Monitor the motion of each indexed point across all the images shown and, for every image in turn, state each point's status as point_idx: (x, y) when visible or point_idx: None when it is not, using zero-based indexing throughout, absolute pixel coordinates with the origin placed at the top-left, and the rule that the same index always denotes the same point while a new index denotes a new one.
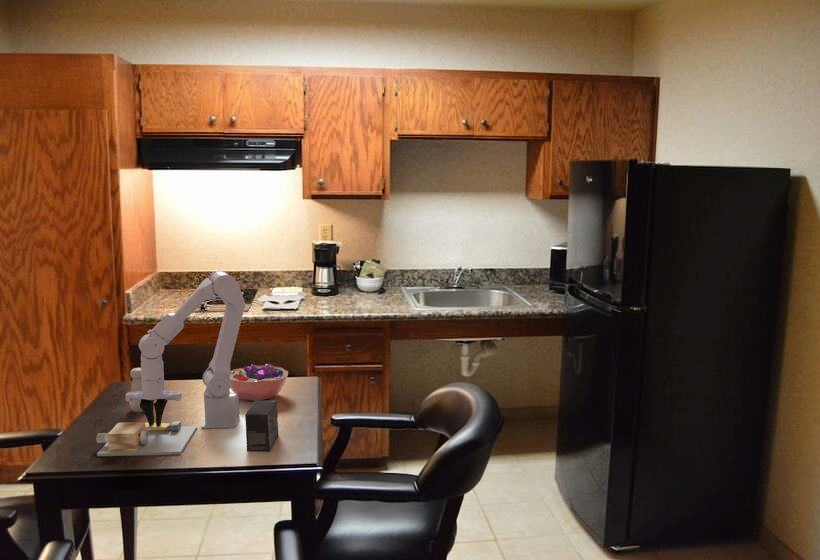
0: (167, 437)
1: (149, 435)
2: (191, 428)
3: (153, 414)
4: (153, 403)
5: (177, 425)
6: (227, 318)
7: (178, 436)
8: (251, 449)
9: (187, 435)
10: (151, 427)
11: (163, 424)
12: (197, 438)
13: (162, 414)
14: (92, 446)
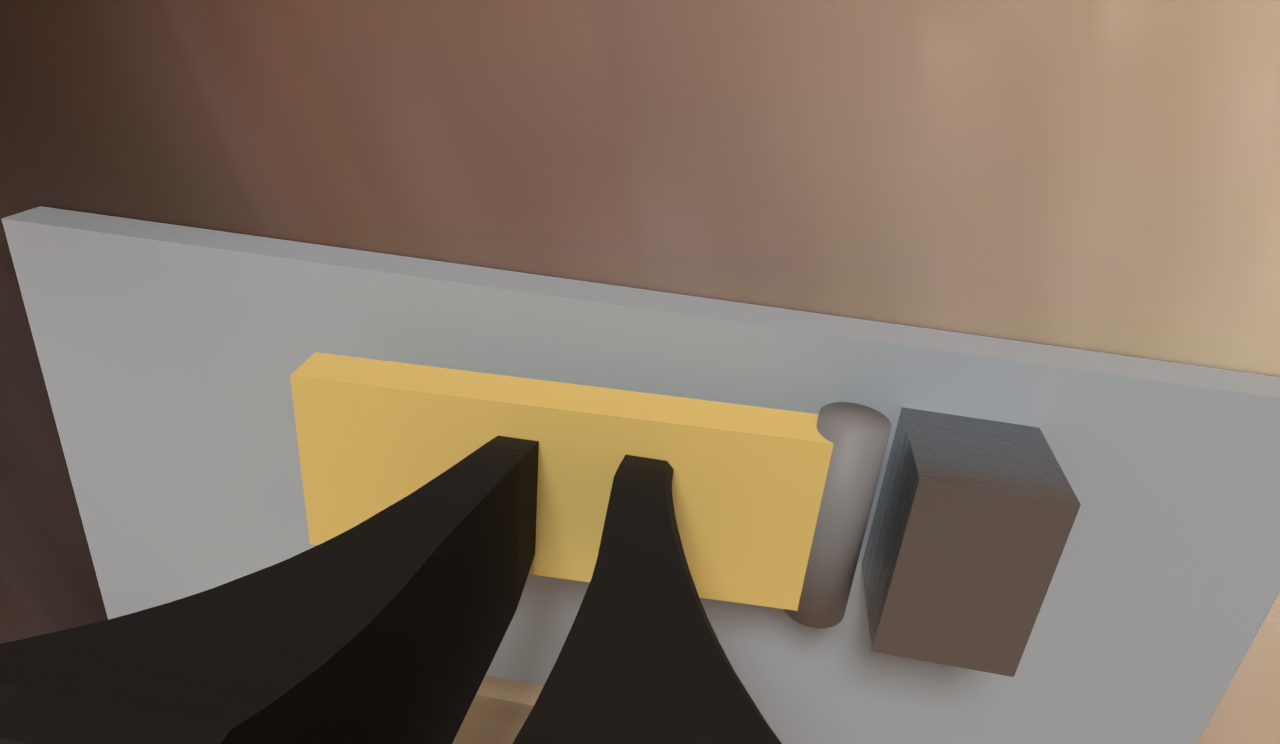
0: (832, 721)
1: (558, 601)
2: (1241, 491)
3: (469, 523)
4: (332, 670)
5: (1008, 671)
6: None
7: (994, 730)
8: None
9: (1137, 732)
10: (540, 568)
11: (724, 494)
12: (1273, 728)
13: (683, 563)
14: (8, 629)
